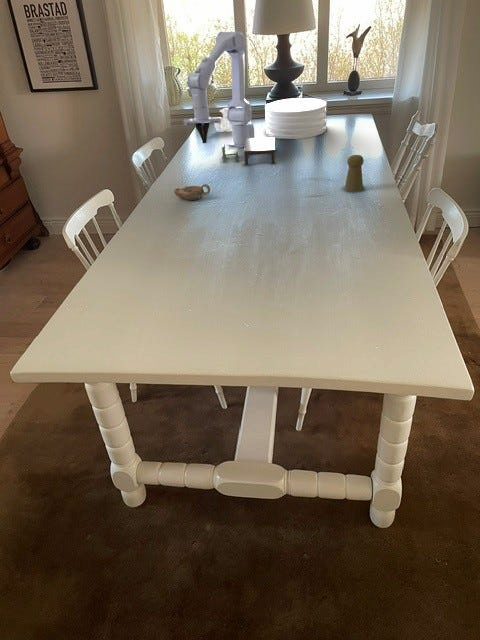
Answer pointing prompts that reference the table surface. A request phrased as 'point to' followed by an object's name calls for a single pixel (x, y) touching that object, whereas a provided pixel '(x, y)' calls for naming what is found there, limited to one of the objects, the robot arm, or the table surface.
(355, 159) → the cork
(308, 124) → the plate stack
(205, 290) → the table surface
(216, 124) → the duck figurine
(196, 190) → the oil lamp
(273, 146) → the desk
